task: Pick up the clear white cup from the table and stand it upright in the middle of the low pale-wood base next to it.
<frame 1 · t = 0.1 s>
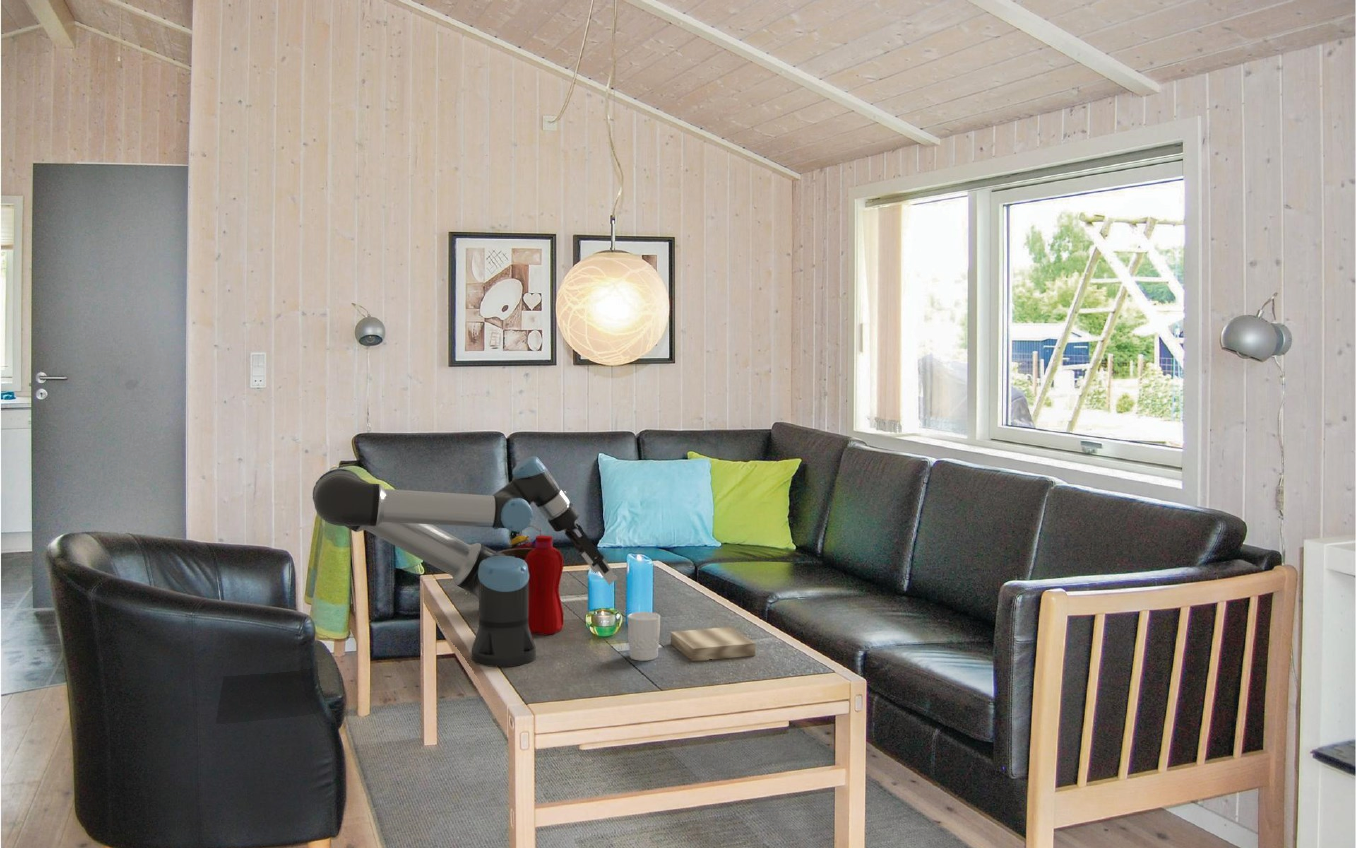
hand: (606, 575, 285), 15 cm above the table, tool tilted 35°, fingers open, 13 cm apart
white cup: (643, 657, 266), on the table
plant pot: (524, 611, 310), on the table
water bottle: (545, 631, 290), on the table
alarm clock: (528, 592, 333), on the table
wooden base: (712, 649, 273), on the table
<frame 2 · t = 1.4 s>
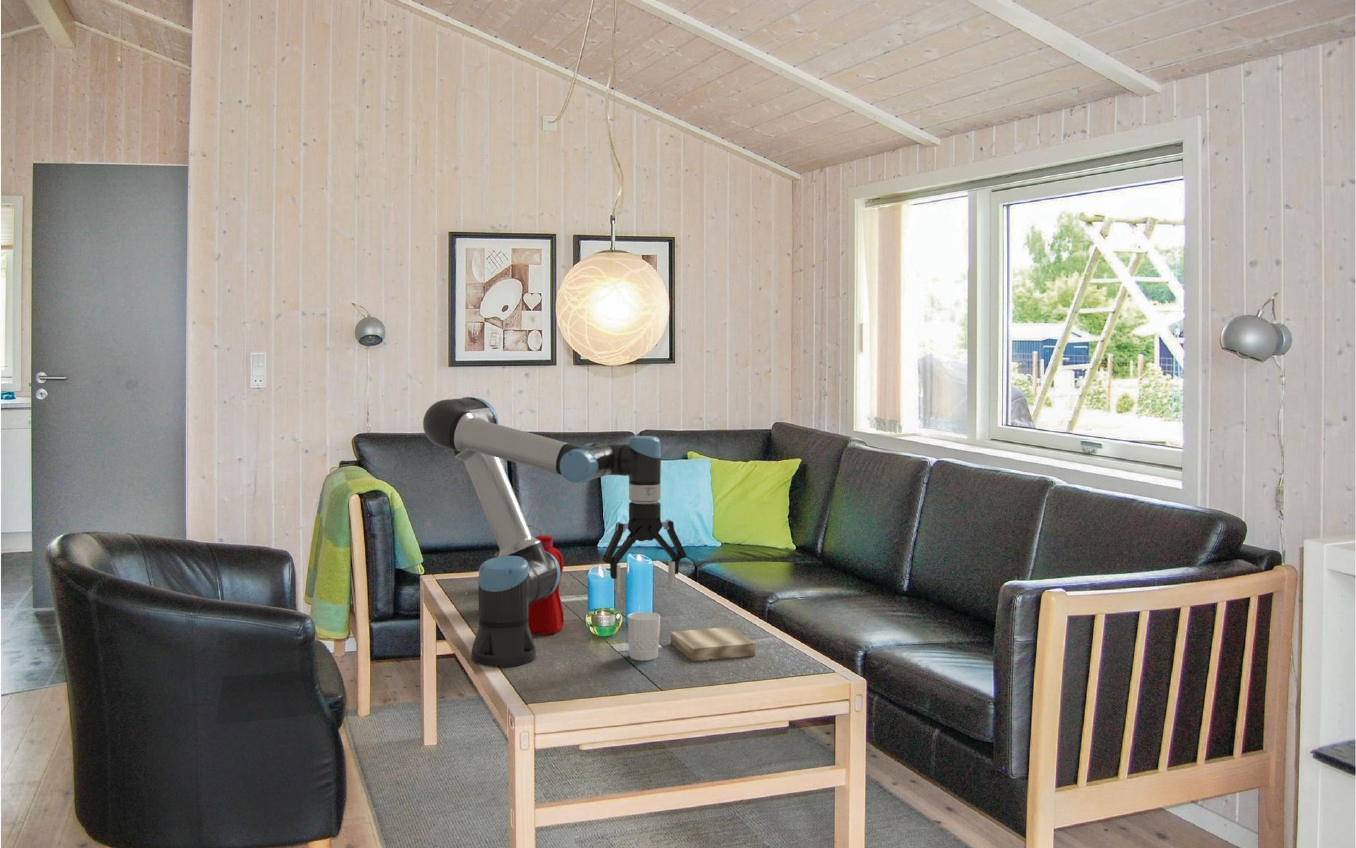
hand: (644, 590, 265), 16 cm above the table, tool pointing down, fingers open, 13 cm apart
nothing on the table moved.
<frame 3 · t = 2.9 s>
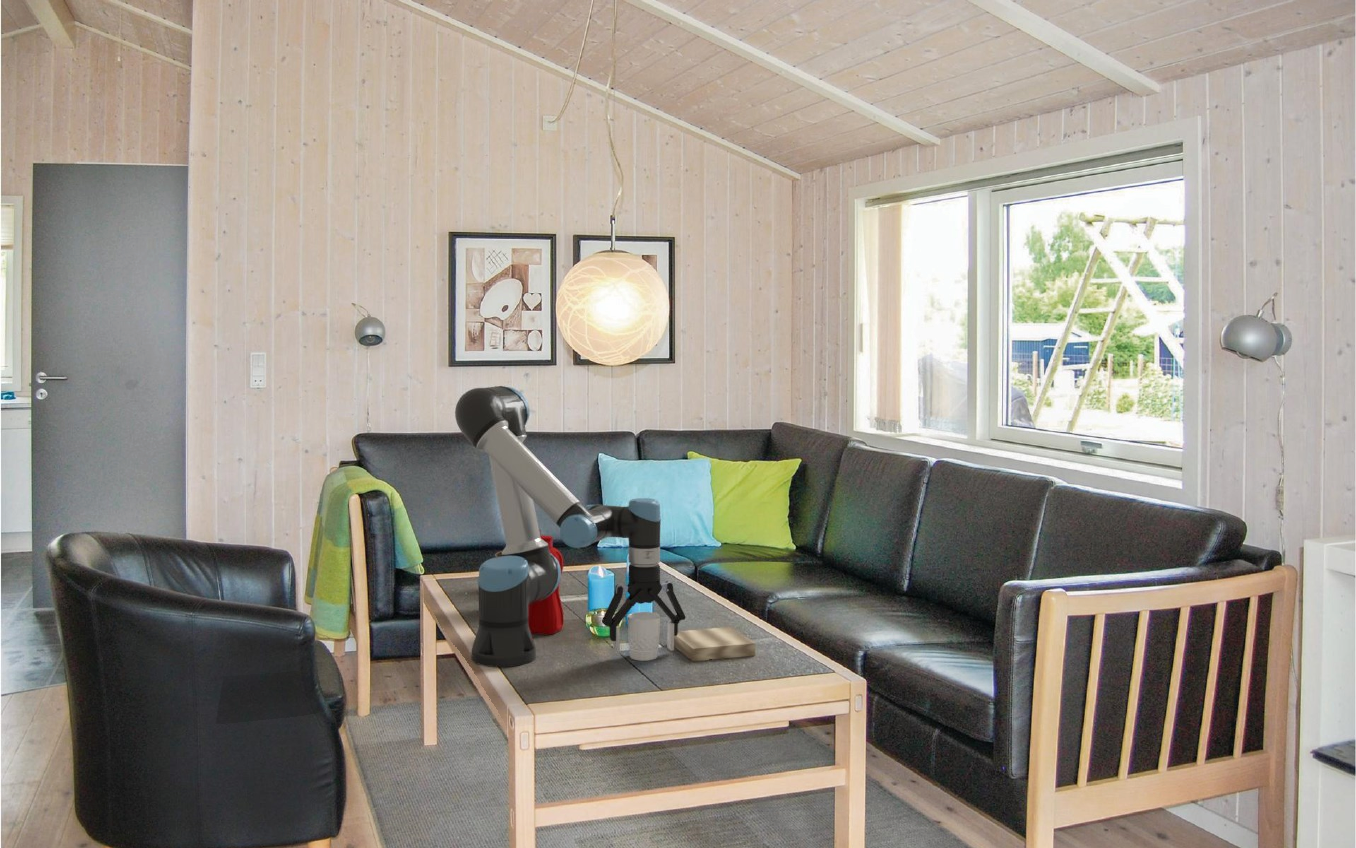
hand: (643, 651, 266), 1 cm above the table, tool pointing down, fingers open, 13 cm apart
nothing on the table moved.
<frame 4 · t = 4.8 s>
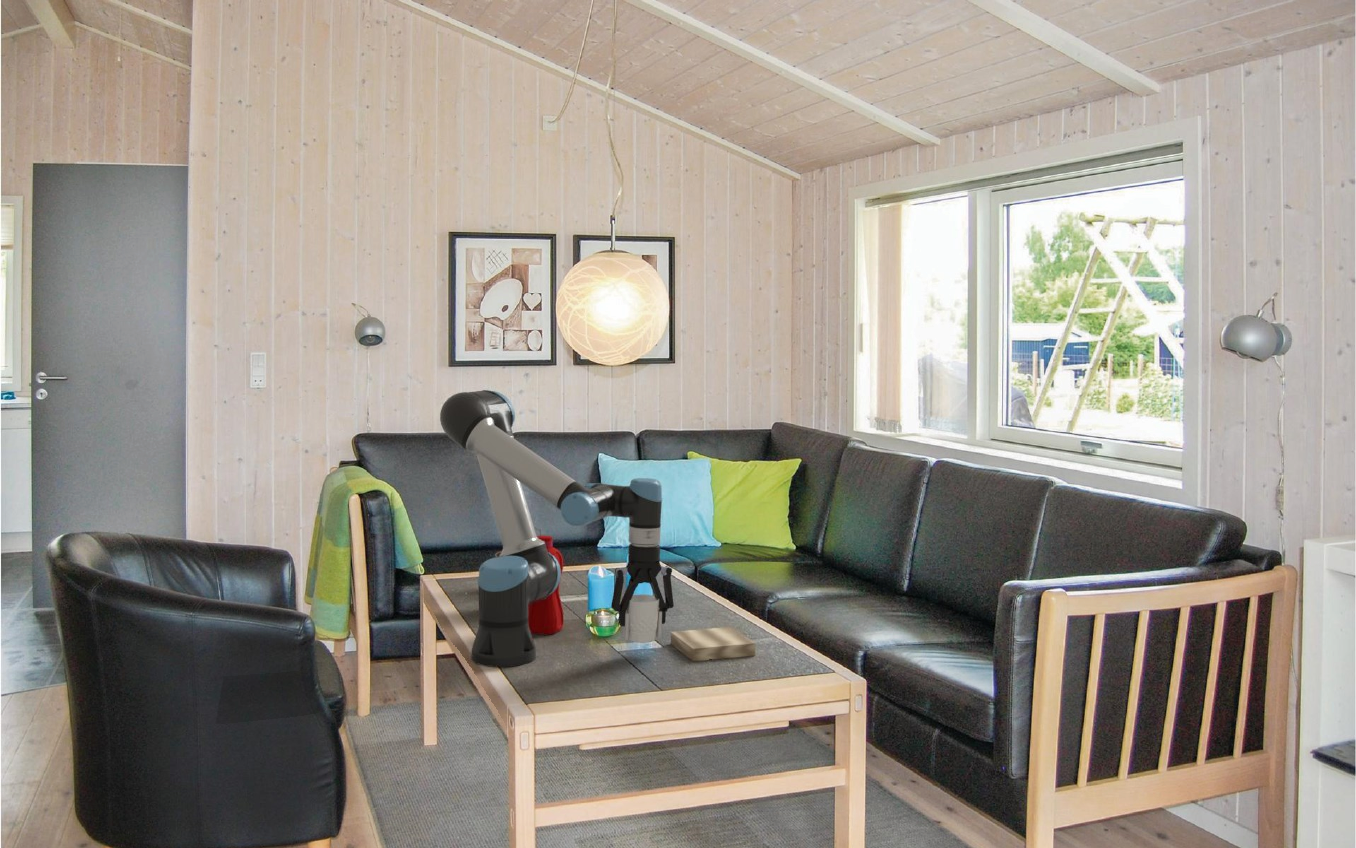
hand: (641, 638, 266), 5 cm above the table, tool pointing down, fingers closed on white cup, 8 cm apart
white cup: (641, 640, 266), point 4 cm above the table, touching gripper
everything else where it was.
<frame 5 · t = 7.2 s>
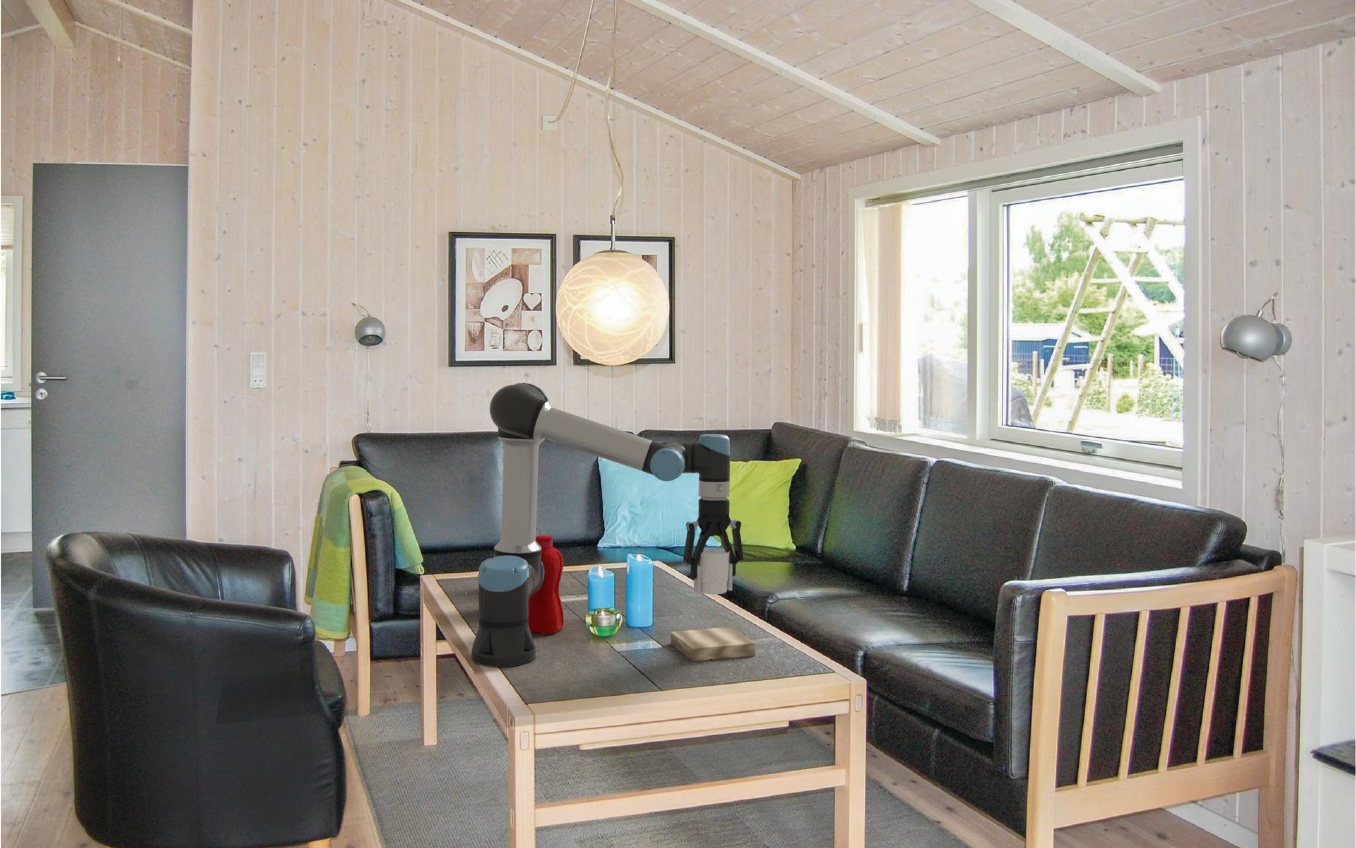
hand: (713, 590, 272), 15 cm above the table, tool pointing down, fingers closed on white cup, 8 cm apart
white cup: (712, 592, 272), point 14 cm above the table, touching gripper
everything else where it was.
when the fingers open (4 cm above the table, at t = 9.8 s): white cup stays where it is, resting on wooden base.
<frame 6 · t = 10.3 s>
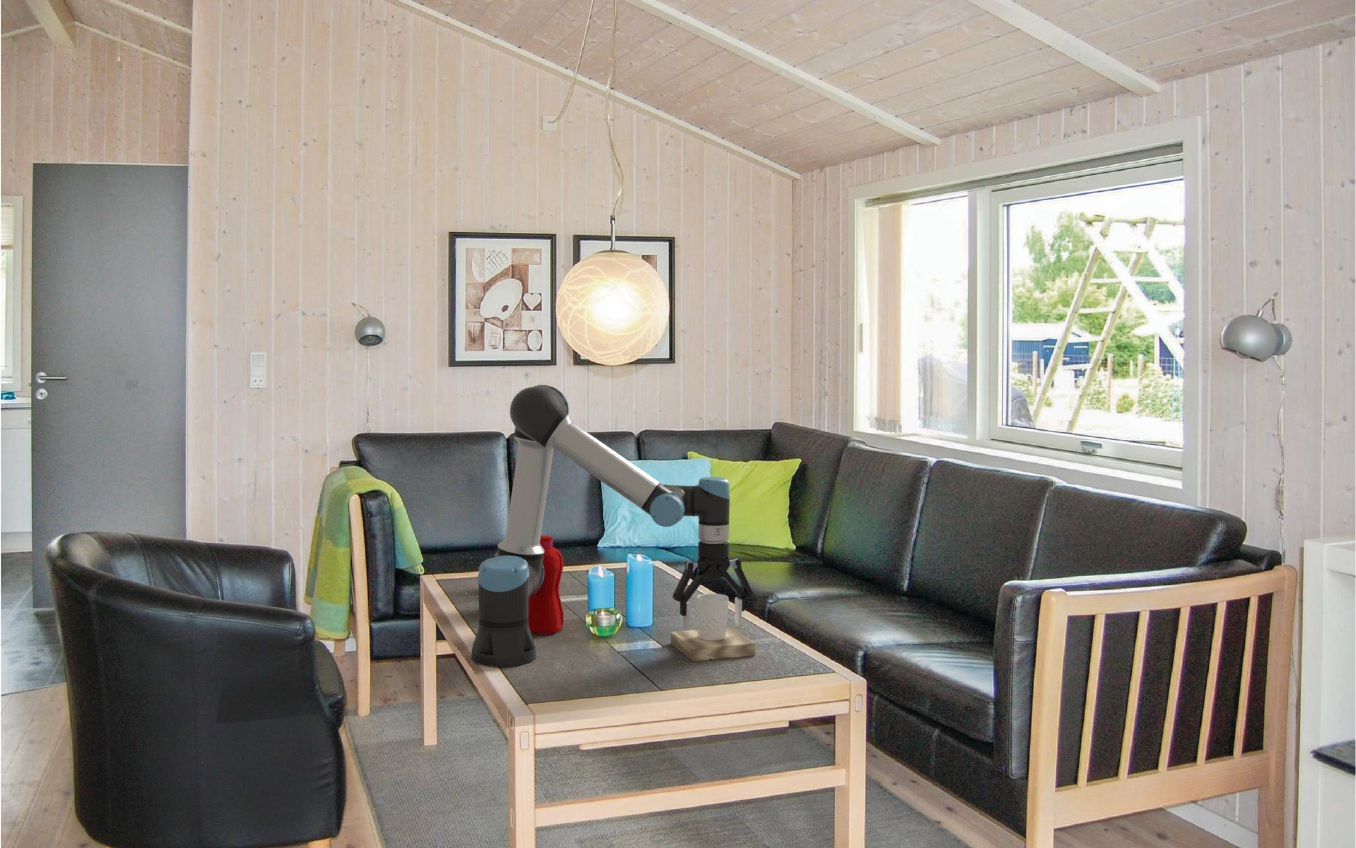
hand: (712, 626, 273), 6 cm above the table, tool pointing down, fingers open, 13 cm apart
white cup: (712, 638, 273), point 3 cm above the table, touching wooden base
everything else where it was.
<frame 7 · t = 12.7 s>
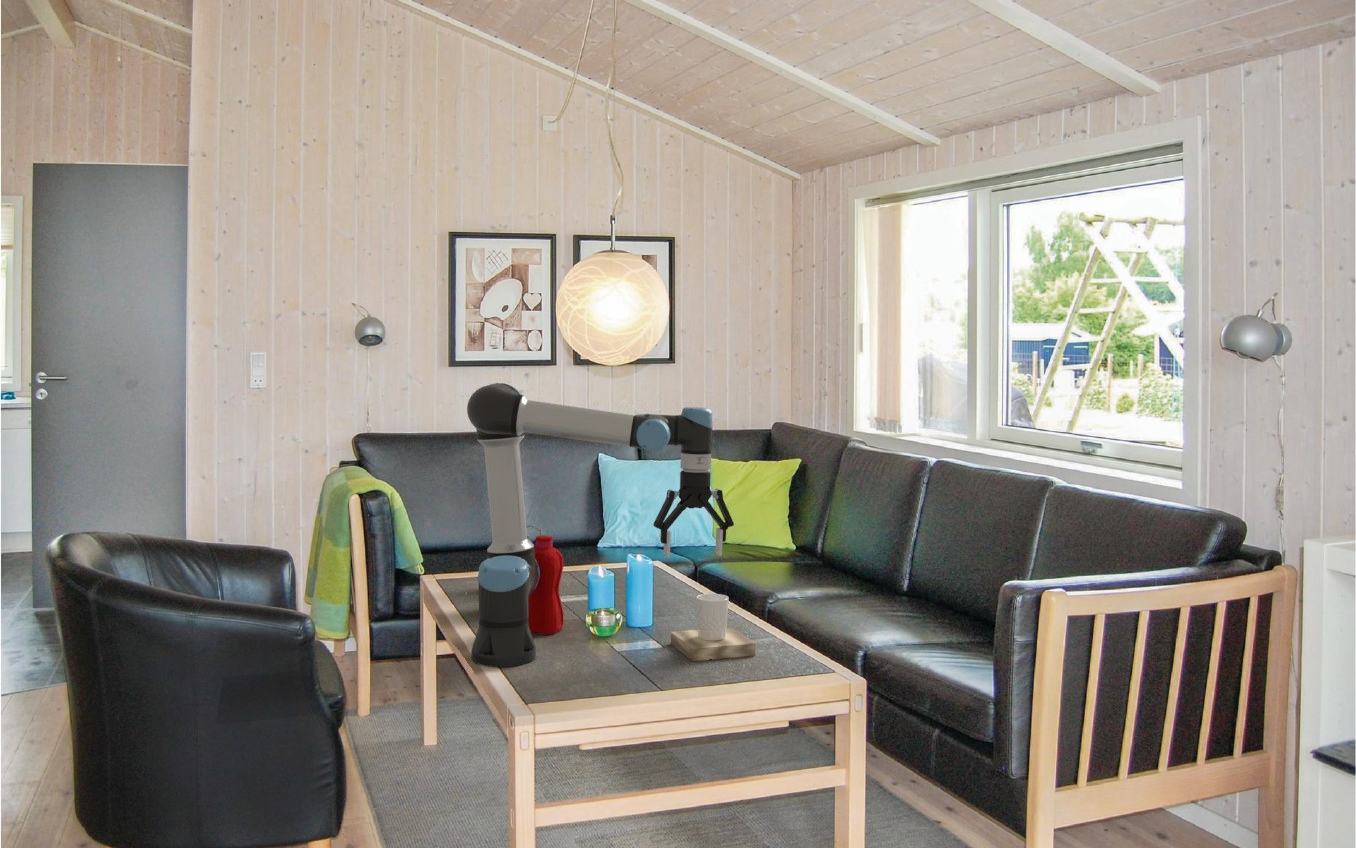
hand: (692, 555, 275), 23 cm above the table, tool pointing down, fingers open, 13 cm apart
nothing on the table moved.
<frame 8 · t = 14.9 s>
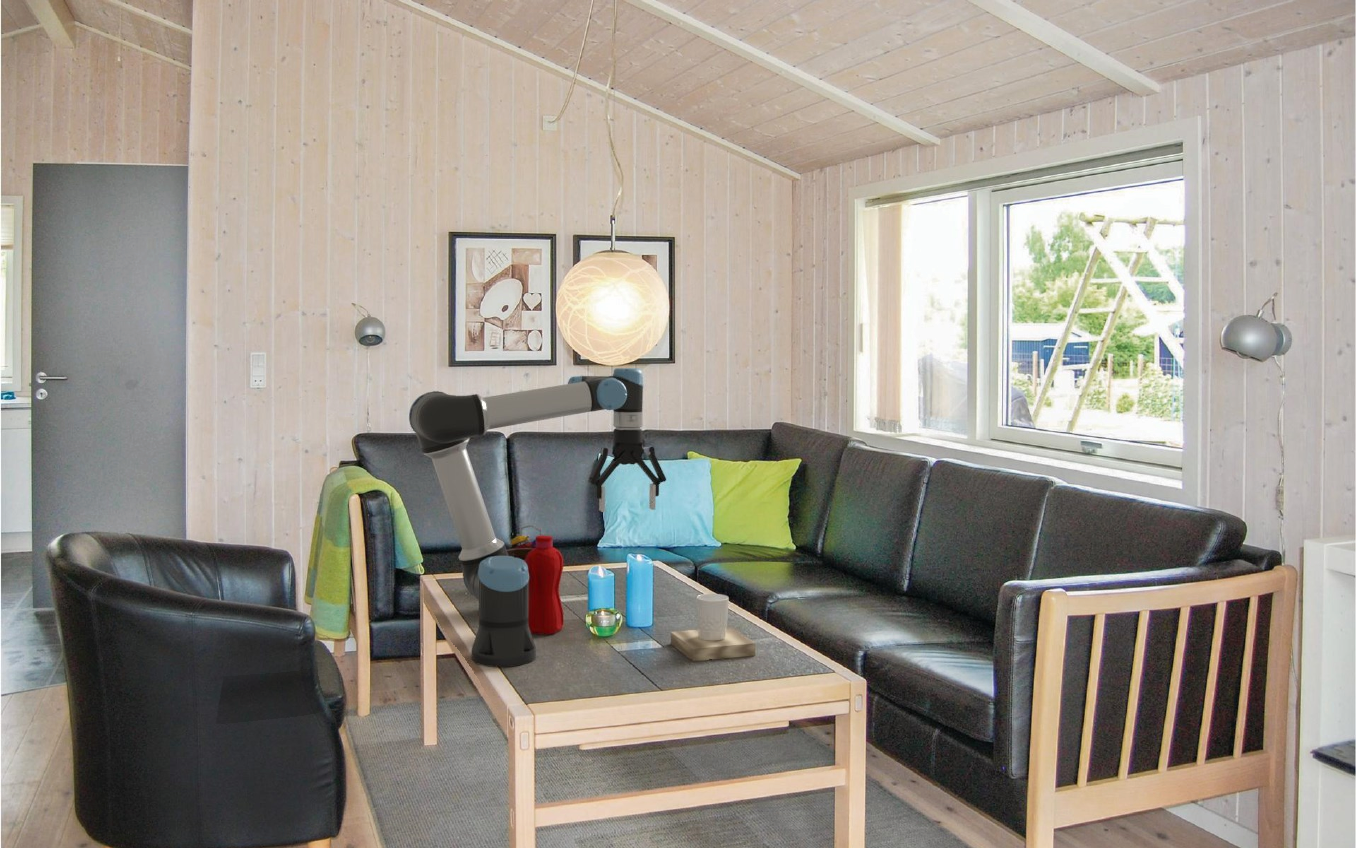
hand: (627, 510, 287), 32 cm above the table, tool pointing down, fingers open, 13 cm apart
nothing on the table moved.
at the end: white cup inside the target area on the wooden base (0.1 cm from its centre), point 2.8 cm above the wooden base's base; white cup tilted 0°; the gripper is holding nothing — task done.
